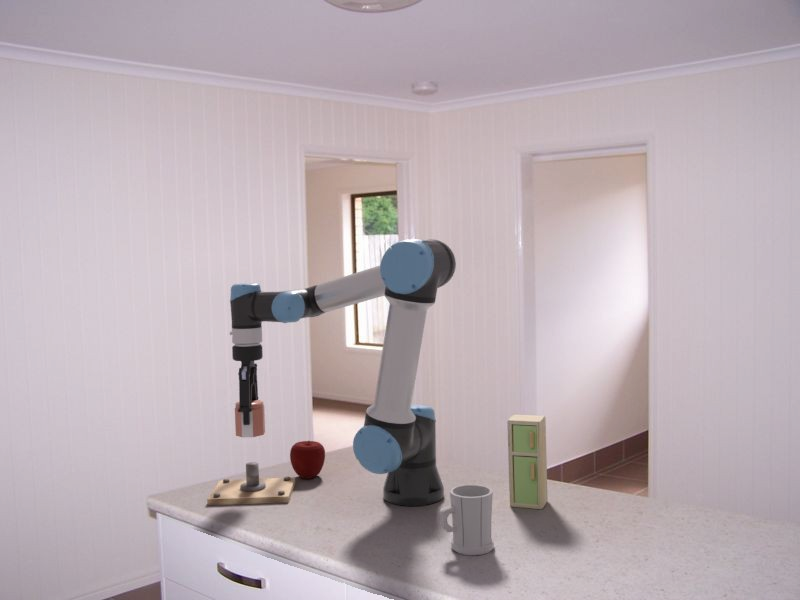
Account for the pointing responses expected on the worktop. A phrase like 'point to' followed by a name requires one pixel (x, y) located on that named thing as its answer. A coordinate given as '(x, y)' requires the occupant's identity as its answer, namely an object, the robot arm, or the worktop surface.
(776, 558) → the worktop surface
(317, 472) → the apple
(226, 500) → the stud plate
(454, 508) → the cup
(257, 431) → the cap
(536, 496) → the toy refrigerator
